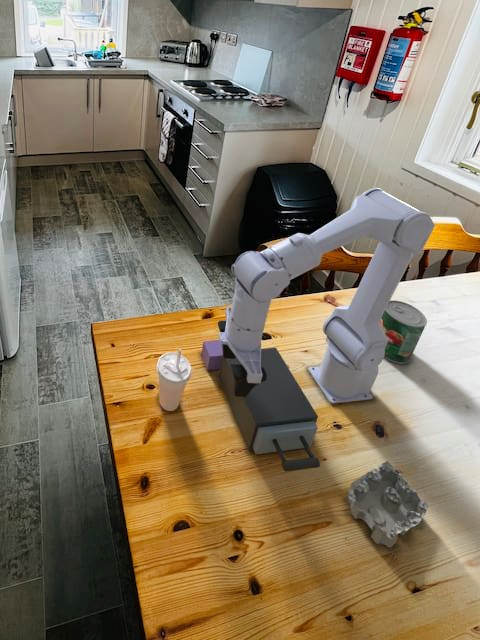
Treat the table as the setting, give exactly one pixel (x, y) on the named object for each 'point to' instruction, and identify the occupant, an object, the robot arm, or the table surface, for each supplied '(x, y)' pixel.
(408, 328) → the canned tomato
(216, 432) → the table surface
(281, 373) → the dark grey drawer box
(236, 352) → the robot arm
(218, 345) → the purple cube
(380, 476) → the egg carton
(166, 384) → the smoothie
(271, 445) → the grey drawer
